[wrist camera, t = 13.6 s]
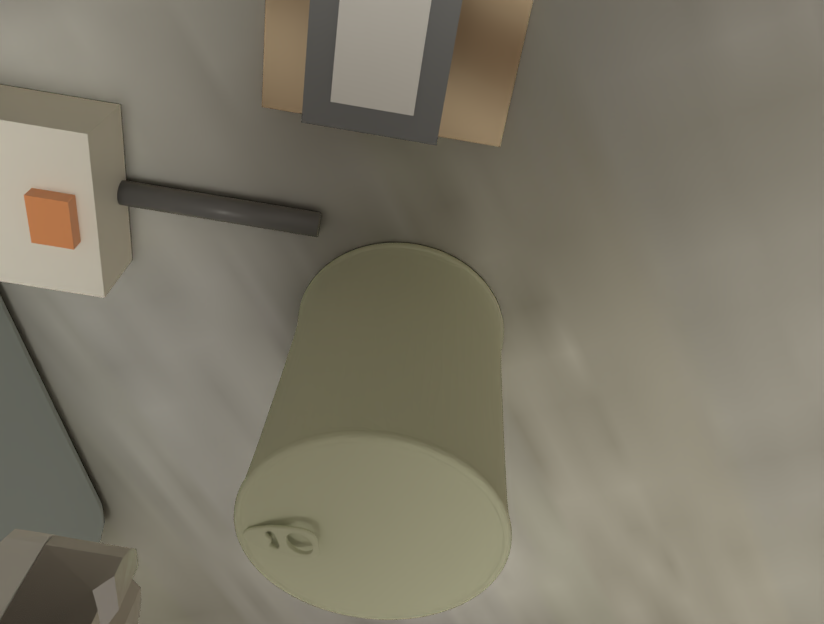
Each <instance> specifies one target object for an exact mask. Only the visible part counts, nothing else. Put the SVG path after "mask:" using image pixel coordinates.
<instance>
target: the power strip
mask: <svg viewBox="0 0 824 624" xmlns="http://www.w3.org/2000/svg"><path fill="white" fill-rule="evenodd" d="M128 206H130V207H136V208H142V209H148V210H154V211H160V212H167V213H173V214H179V215H185V216H191V217H197V218H203V219H209V220H216V221H222V222H228V223H234V224H240V225H246V226H252V227H258V228H264V229H271V230H277V231H283V232H289V233H295V234H301V235H307V236H313V237H318V234H319V229H320V223H321V213H320V212H314V211H308V210H302V209H296V208H290V207H284V206H278V205H272V204H265V203H259V202H253V201H247V200H241V199H235V198H229V197H223V196H217V195H211V194H205V193H198V192H192V191H186V190H180V189H174V188H168V187H162V186H156V185H150V184H144V183H138V182H132V181H126V170H125V157H124V144H123V131H122V118H121V105H120V104H114V103H108V102H102V101H96V100H90V99H84V98H78V97H72V96H66V95H60V94H54V93H48V92H42V91H36V90H30V89H24V88H18V87H12V86H6V85H0V281H1V282H7V283H14V284H20V285H26V286H32V287H39V288H45V289H51V290H57V291H64V292H70V293H76V294H82V295H89V296H95V297H101V298H105V297H106V295H107V294H108V293H109V291H110V290H111V289H112V287H113V286H114V284H115V283H116V282H117V280H118V279H119V278H120V276H121V275H122V273H123V272H124V271H125V269H126V268H127V267H128V265H129V264H130V262H131V261H132V249H131V236H130V223H129V210H128Z"/></svg>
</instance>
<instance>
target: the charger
mask: <svg viewBox="0 0 824 624" xmlns="http://www.w3.org/2000/svg"><path fill="white" fill-rule="evenodd" d="M461 6H462V0H310V5H309V19H308V34H307V48H306V63H305V77H304V92H303V106H302V120H301V122H303V123H308V124H314V125H320V126H326V127H332V128H338V129H344V130H349V131H355V132H361V133H367V134H373V135H379V136H385V137H390V138H396V139H402V140H408V141H414V142H420V143H426V144H431V145H437V139H438V134H439V128H440V123H441V117H442V112H443V106H444V100H445V95H446V89H447V84H448V78H449V73H450V67H451V61H452V56H453V50H454V45H455V39H456V33H457V28H458V22H459V17H460V11H461Z"/></svg>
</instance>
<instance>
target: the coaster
mask: <svg viewBox="0 0 824 624" xmlns="http://www.w3.org/2000/svg"><path fill="white" fill-rule="evenodd" d="M532 4H533V0H462V6H461V11H460V17H459V22H458V28H457V33H456V39H455V45H454V50H453V56H452V61H451V67H450V73H449V78H448V84H447V89H446V95H445V100H444V106H443V112H442V117H441V123H440V128H439V134H438V137H444V138H450V139H456V140H462V141H468V142H474V143H480V144H486V145H492V146H498V147H500V145H501V141H502V136H503V132H504V128H505V123H506V119H507V114H508V110H509V106H510V101H511V97H512V92H513V88H514V84H515V79H516V75H517V70H518V66H519V62H520V57H521V53H522V48H523V44H524V40H525V35H526V31H527V26H528V22H529V18H530V13H531V9H532ZM309 5H310V0H265V29H264V59H263V88H262V107H265V108H271V109H277V110H283V111H289V112H295V113H301V114H302V106H303V92H304V77H305V63H306V48H307V34H308V19H309Z"/></svg>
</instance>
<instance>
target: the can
mask: <svg viewBox="0 0 824 624" xmlns="http://www.w3.org/2000/svg"><path fill="white" fill-rule="evenodd" d="M503 338H504V325H503V318H502V314H501V311H500V307H499V305H498V303H497V300H496V298H495V297H494V295H493V293H492V291H491V290H490V289H489V287H488V286H487V284H486V283H485V282H484V281H483V280H482V278H481V277H480V276H479V275H478V274H477V273H476V272H474V271H473V270H472V269H471V268H470V267H468V266H467V265H466V264H464V263H463V262H461V261H460V260H458V259H456V258H454V257H452V256H451V255H449V254H446V253H444V252H442V251H439V250H436V249H434V248H430V247H426V246H422V245H418V244H411V243H380V244H373V245H368V246H364V247H360V248H358V249H355V250H352V251H350V252H347V253H345V254H343V255H341V256H340V257H338V258H336V259H335V260H333V261H332V262H330V263H329V264H328V265H326V266H325V267H324V268H323V269H322V270H321V271H320V272H319V273H318V274H317V275H316V276H315V277H314V279H313V280H312V281H311V283H310V284H309V286H308V287H307V289H306V291H305V293H304V295H303V298H302V301H301V304H300V308H299V313H298V324H297V328H296V332H295V335H294V338H293V341H292V344H291V347H290V350H289V353H288V356H287V360H286V363H285V366H284V369H283V372H282V375H281V378H280V381H279V384H278V387H277V390H276V393H275V396H274V398H273V401H272V404H271V407H270V410H269V413H268V416H267V419H266V422H265V425H264V428H263V431H262V434H261V437H260V439H259V442H258V445H257V448H256V451H255V454H254V456H253V459H252V462H251V464H250V467H249V470H248V473H247V475H246V478H245V480H244V481H243V483H242V485H241V487H240V489H239V492H238V494H237V497H236V501H235V507H234V524H235V531H236V534H237V537H238V540H239V543H240V545H241V547H242V549H243V551H244V552H245V554H246V555H247V557H248V558H249V560H250V562H251V563H252V564H253V565H254V566H255V567H256V568H257V570H258V571H259V572H260V573H261V574H262V575H264V576H265V577H266V578H267V579H268V580H269V581H271V582H272V583H273V584H274V585H276V586H277V587H278V588H280V589H282V590H283V591H285V592H286V593H288V594H290V595H291V596H293V597H295V598H297V599H299V600H301V601H303V602H306V603H308V604H310V605H313V606H315V607H318V608H321V609H324V610H327V611H330V612H334V613H338V614H342V615H347V616H352V617H358V618H367V619H379V620H397V619H411V618H418V617H424V616H429V615H433V614H437V613H440V612H444V611H447V610H449V609H452V608H455V607H457V606H459V605H462V604H463V603H465V602H467V601H469V600H471V599H472V598H474V597H476V596H477V595H479V594H480V593H481V592H483V591H484V590H485V589H486V588H487V587H488V586H489V585H491V583H492V582H493V581H494V580H495V579H496V577H497V576H498V575H499V574H500V572H501V571H502V569H503V568H504V566H505V564H506V561H507V559H508V556H509V553H510V548H511V540H512V530H511V522H510V518H509V514H508V504H507V489H506V470H505V450H504V431H503V405H502V379H501V350H502V346H503Z"/></svg>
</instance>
